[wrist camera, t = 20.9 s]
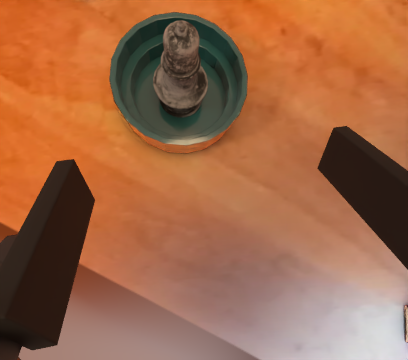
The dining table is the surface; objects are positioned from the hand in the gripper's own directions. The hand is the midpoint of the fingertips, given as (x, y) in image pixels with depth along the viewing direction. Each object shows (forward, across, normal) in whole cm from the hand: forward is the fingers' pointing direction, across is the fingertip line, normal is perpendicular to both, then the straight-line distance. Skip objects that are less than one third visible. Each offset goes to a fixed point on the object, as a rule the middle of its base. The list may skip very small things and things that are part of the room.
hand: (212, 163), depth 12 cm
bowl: (+19, 0, -4) cm, 19 cm away
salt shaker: (+18, 0, -4) cm, 19 cm away
